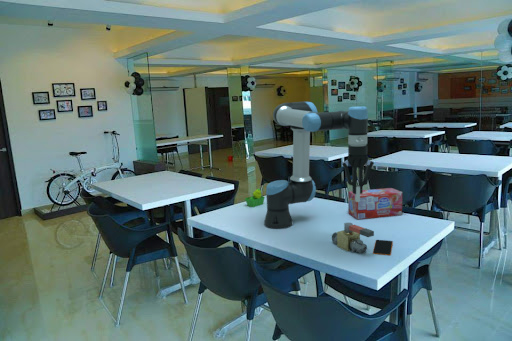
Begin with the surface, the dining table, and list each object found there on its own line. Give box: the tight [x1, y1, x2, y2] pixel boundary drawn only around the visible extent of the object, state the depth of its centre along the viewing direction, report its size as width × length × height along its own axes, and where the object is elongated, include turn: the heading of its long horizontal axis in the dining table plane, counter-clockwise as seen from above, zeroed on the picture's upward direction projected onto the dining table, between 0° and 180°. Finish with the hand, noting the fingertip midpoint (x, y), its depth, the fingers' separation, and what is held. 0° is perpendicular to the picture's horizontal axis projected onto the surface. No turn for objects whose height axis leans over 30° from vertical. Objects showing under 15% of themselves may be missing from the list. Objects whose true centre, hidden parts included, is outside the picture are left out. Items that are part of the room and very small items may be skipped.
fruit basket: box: [244, 188, 266, 208], centre depth 252 cm, size 11×9×11 cm
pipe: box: [331, 229, 368, 255], centre depth 177 cm, size 18×7×8 cm, turn 29°
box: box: [347, 187, 403, 220], centre depth 222 cm, size 27×13×14 cm, turn 101°
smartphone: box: [372, 239, 394, 256], centre depth 175 cm, size 8×17×1 cm, turn 159°
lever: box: [343, 222, 375, 238], centre depth 171 cm, size 4×15×4 cm, turn 30°
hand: (357, 201), depth 165 cm, fingers closed
